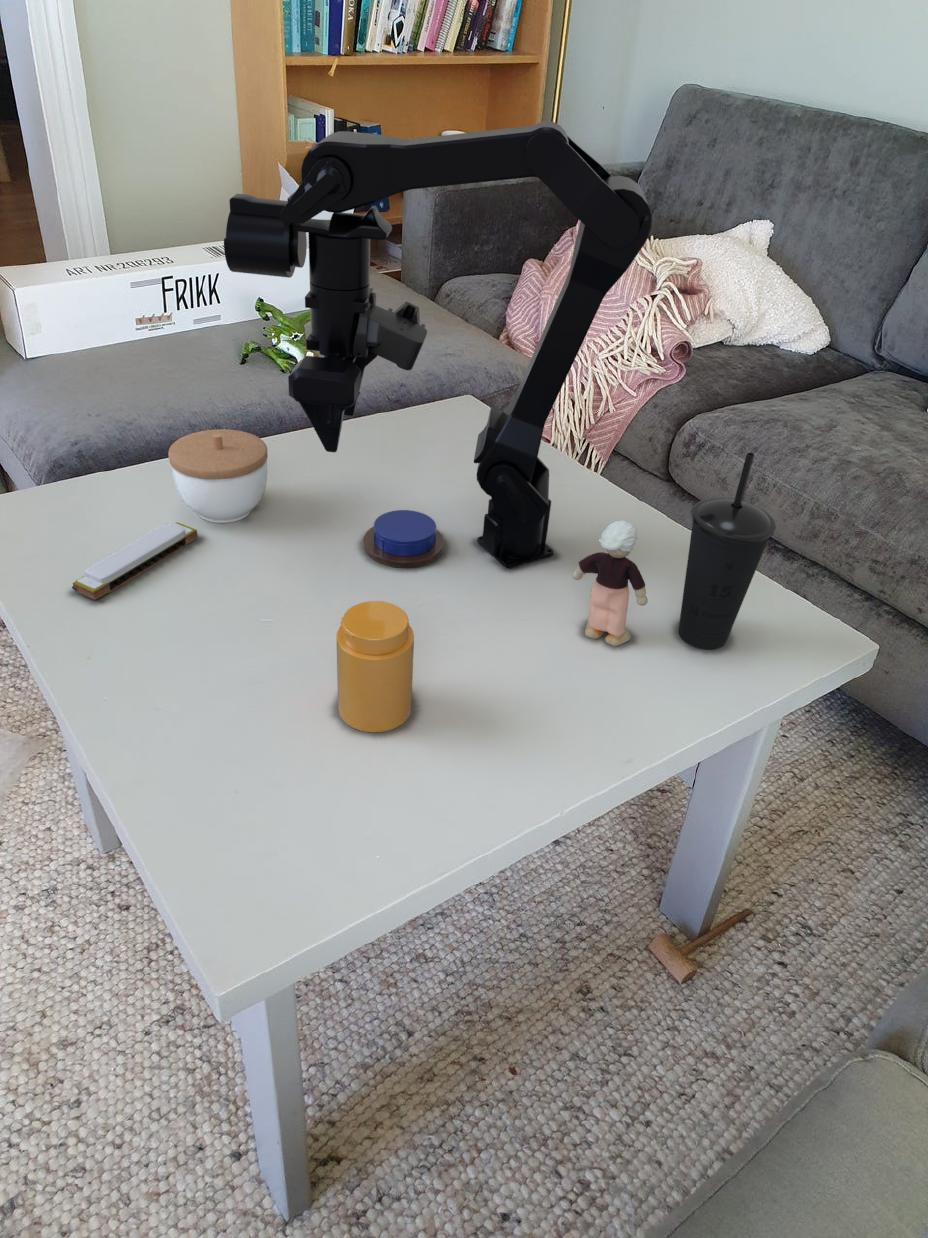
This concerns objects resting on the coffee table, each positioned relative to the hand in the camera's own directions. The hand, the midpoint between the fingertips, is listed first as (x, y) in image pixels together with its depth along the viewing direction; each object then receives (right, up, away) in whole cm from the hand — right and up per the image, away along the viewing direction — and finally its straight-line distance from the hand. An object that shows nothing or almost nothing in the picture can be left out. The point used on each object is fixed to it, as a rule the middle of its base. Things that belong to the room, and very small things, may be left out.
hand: (340, 432), depth 97 cm
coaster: (+6, -12, +6) cm, 14 cm away
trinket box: (-15, -7, +10) cm, 19 cm away
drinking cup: (+37, -22, -4) cm, 43 cm away
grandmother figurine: (+27, -21, -5) cm, 35 cm away
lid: (+7, -10, +4) cm, 12 cm away
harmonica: (-21, -14, -1) cm, 25 cm away
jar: (+5, -27, -16) cm, 32 cm away
